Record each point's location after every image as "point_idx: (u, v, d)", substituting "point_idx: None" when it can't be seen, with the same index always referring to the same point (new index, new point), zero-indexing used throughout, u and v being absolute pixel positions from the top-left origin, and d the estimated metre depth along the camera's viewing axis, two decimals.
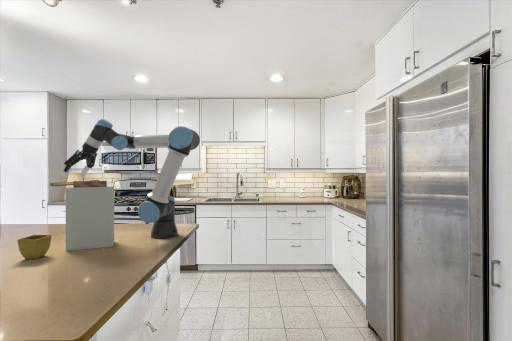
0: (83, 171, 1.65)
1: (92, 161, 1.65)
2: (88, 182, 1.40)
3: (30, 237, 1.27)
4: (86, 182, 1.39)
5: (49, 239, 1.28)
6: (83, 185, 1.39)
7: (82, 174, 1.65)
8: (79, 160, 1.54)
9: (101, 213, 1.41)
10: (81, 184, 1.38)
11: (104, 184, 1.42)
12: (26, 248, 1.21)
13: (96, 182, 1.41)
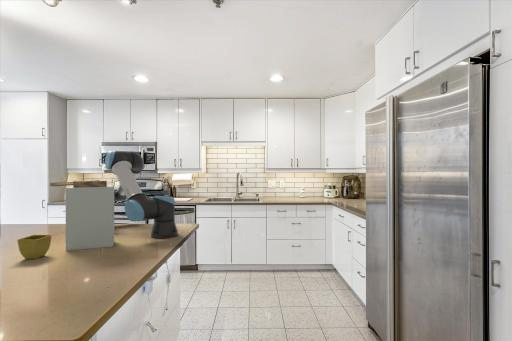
0: None
1: (114, 196, 1.82)
2: (88, 182, 1.40)
3: (30, 237, 1.27)
4: (86, 182, 1.39)
5: (49, 239, 1.28)
6: (83, 185, 1.39)
7: None
8: None
9: (101, 213, 1.41)
10: (81, 184, 1.38)
11: (104, 184, 1.42)
12: (26, 248, 1.21)
13: (96, 182, 1.41)
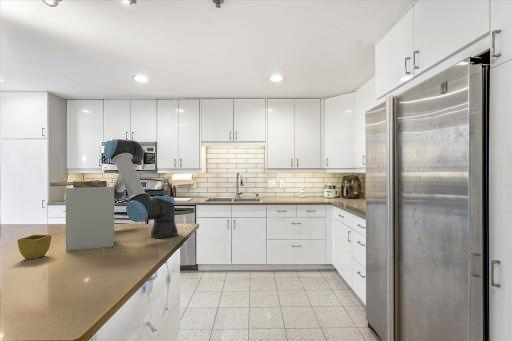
0: None
1: None
2: (88, 182, 1.40)
3: (30, 237, 1.27)
4: (86, 182, 1.39)
5: (49, 239, 1.28)
6: (83, 185, 1.39)
7: None
8: None
9: (101, 213, 1.41)
10: (81, 184, 1.38)
11: (104, 184, 1.42)
12: (26, 248, 1.21)
13: (96, 182, 1.41)
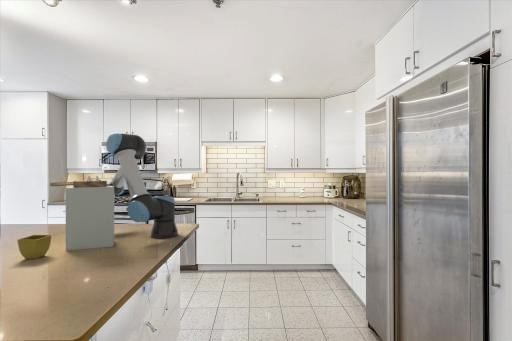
0: None
1: None
2: (88, 182, 1.40)
3: (30, 237, 1.27)
4: (86, 182, 1.39)
5: (49, 239, 1.28)
6: (83, 185, 1.39)
7: None
8: None
9: (101, 213, 1.41)
10: (81, 184, 1.38)
11: (104, 184, 1.42)
12: (26, 248, 1.21)
13: (96, 182, 1.41)
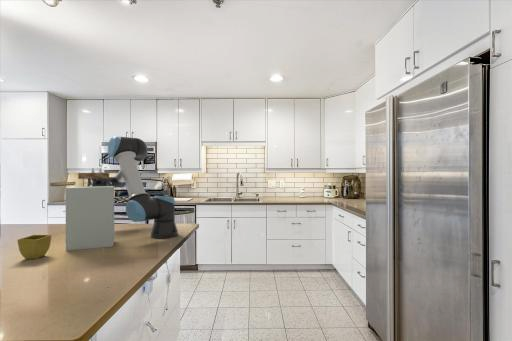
0: None
1: None
2: (92, 174, 1.50)
3: (30, 237, 1.27)
4: (90, 174, 1.50)
5: (49, 239, 1.28)
6: (87, 176, 1.50)
7: None
8: (95, 179, 1.69)
9: (101, 213, 1.41)
10: (85, 175, 1.49)
11: (107, 176, 1.53)
12: (26, 248, 1.21)
13: (99, 174, 1.52)
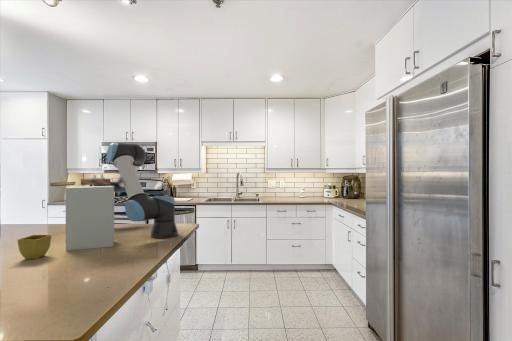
0: None
1: None
2: (94, 180, 1.56)
3: (30, 237, 1.27)
4: (92, 180, 1.56)
5: (49, 239, 1.28)
6: (89, 183, 1.55)
7: (101, 177, 1.67)
8: None
9: (101, 213, 1.41)
10: (87, 182, 1.55)
11: (108, 182, 1.59)
12: (26, 248, 1.21)
13: (101, 180, 1.58)
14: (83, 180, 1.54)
